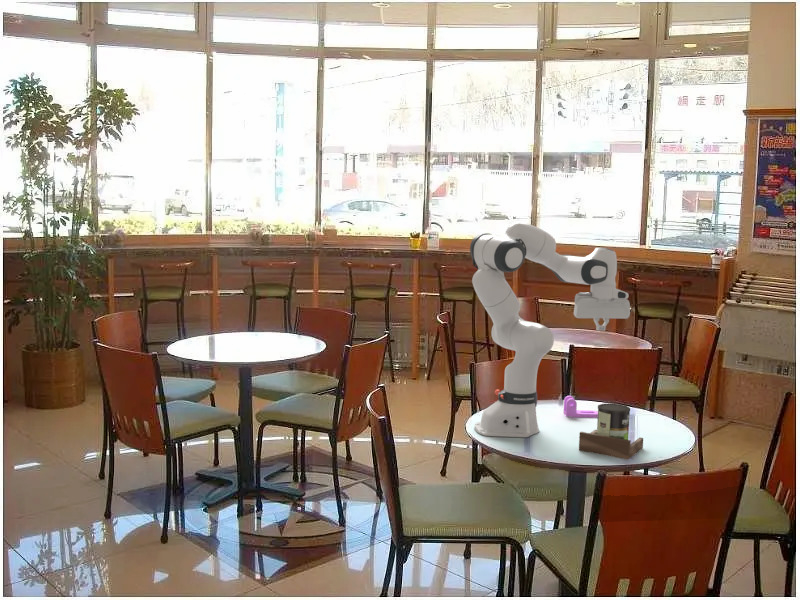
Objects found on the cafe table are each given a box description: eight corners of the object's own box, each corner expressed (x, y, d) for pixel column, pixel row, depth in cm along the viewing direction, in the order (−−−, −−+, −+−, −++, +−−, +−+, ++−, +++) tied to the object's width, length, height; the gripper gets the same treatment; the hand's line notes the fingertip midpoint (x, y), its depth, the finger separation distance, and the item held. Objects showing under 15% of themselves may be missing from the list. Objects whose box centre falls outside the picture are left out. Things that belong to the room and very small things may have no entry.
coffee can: (631, 447, 274) (633, 405, 273) (623, 455, 266) (625, 412, 264) (600, 442, 279) (602, 401, 278) (591, 450, 271) (593, 408, 269)
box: (594, 439, 283) (595, 422, 282) (642, 448, 274) (643, 430, 273) (578, 450, 270) (579, 432, 270) (628, 459, 261) (629, 441, 261)
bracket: (566, 417, 311) (566, 399, 310) (563, 413, 317) (564, 395, 316) (600, 418, 311) (601, 399, 310) (597, 414, 317) (598, 396, 316)
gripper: (577, 293, 296) (575, 331, 297) (632, 294, 298) (630, 332, 300) (572, 291, 302) (570, 328, 304) (626, 292, 304) (624, 329, 306)
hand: (600, 330), depth 302 cm, fingers closed
